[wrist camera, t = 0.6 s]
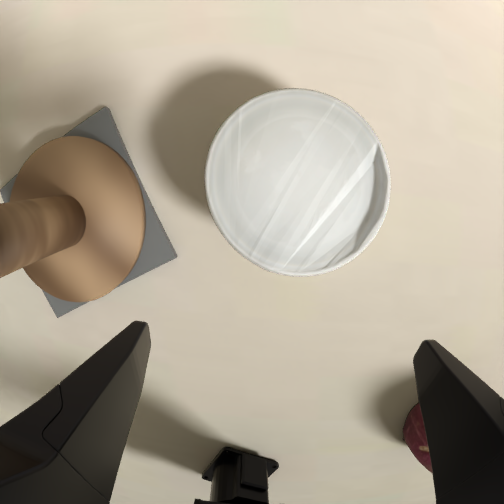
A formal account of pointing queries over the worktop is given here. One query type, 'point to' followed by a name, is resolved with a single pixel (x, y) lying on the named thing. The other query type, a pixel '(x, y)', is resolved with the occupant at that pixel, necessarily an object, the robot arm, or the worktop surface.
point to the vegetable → (417, 437)
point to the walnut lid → (73, 219)
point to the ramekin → (297, 182)
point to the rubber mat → (156, 239)
